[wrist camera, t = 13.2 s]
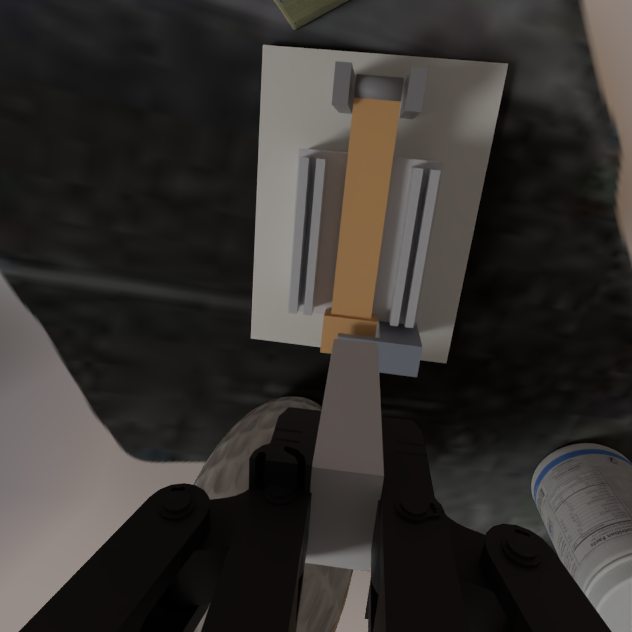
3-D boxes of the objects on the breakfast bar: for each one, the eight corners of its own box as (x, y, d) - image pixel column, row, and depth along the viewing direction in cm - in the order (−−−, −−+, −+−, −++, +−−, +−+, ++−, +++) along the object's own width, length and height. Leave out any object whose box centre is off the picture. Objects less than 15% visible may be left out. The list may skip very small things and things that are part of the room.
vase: (386, 409, 45) (406, 779, 18) (318, 493, 49) (256, 891, 23) (275, 341, 44) (127, 631, 17) (216, 434, 48) (25, 778, 22)
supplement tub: (653, 482, 44) (781, 633, 30) (569, 533, 47) (651, 691, 33) (588, 419, 43) (691, 547, 29) (506, 476, 46) (564, 616, 32)
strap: (349, 75, 30) (348, 71, 29) (410, 80, 30) (412, 76, 28) (322, 344, 37) (320, 352, 35) (372, 350, 36) (372, 358, 35)
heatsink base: (265, 47, 35) (237, 19, 28) (504, 66, 34) (541, 42, 26) (253, 334, 44) (228, 372, 36) (444, 358, 42) (460, 403, 35)
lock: (344, 301, 40) (337, 336, 33) (413, 310, 40) (422, 347, 32) (341, 327, 41) (334, 366, 34) (408, 335, 41) (417, 377, 33)
